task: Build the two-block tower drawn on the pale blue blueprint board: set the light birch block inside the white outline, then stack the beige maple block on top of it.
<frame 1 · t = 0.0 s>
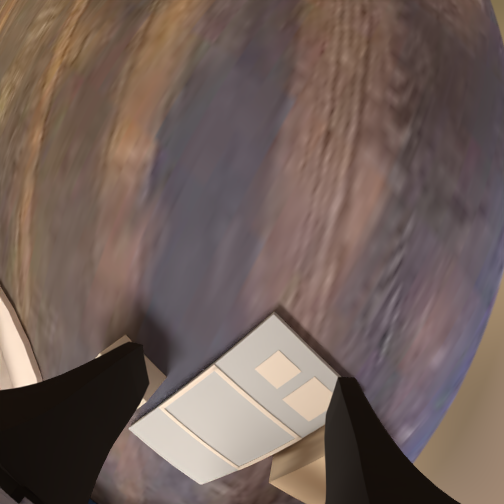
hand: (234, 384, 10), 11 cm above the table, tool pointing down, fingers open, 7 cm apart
beige maple block: (132, 369, 23), on the table
birch block: (325, 458, 22), on the table
blueprint board: (229, 421, 22), on the table
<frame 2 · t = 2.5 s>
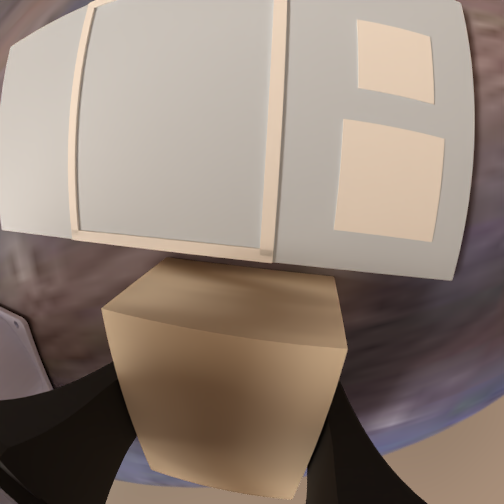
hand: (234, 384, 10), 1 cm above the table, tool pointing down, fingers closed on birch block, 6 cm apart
birch block: (242, 360, 11), on the table, touching gripper
blueprint board: (166, 100, 8), on the table
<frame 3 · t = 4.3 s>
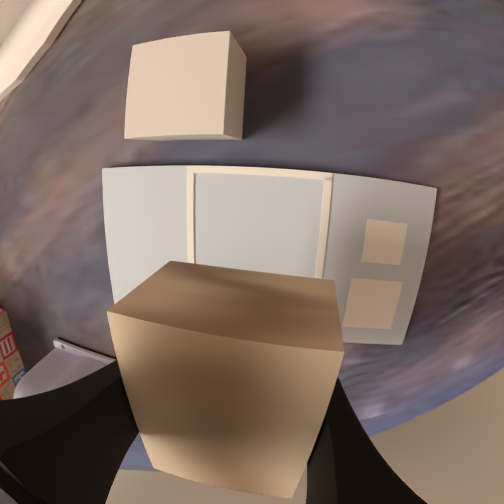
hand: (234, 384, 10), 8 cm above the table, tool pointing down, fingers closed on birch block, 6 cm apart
beige maple block: (201, 98, 15), on the table
birch block: (243, 361, 11), point 7 cm above the table, touching gripper
blueprint board: (255, 254, 17), on the table
white wedge on plate: (24, 2, 14), on the table
stack of blocks: (16, 365, 29), on the table
when the fingers open (3 cm above the table, at t = 6.1 s): birch block stays where it is, resting on blueprint board.
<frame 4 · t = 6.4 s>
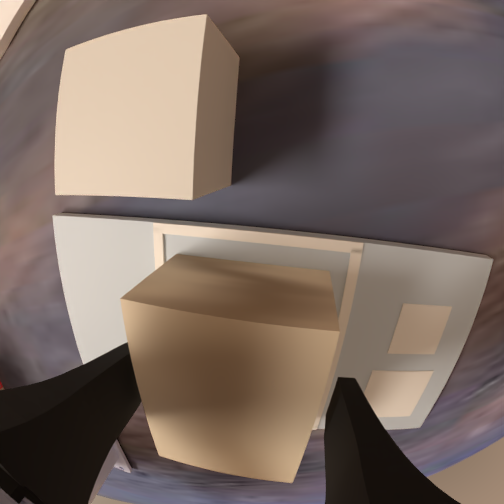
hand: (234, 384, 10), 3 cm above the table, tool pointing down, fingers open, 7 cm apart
beige maple block: (173, 120, 10), on the table
birch block: (245, 350, 12), point 1 cm above the table, touching blueprint board
blueprint board: (249, 339, 13), on the table
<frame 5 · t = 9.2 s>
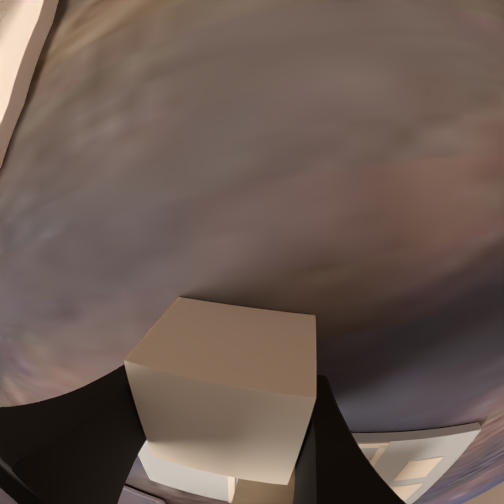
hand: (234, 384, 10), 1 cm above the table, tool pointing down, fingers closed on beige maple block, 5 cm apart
beige maple block: (241, 361, 11), on the table, touching gripper
birch block: (293, 484, 13), point 1 cm above the table, touching blueprint board
blueprint board: (295, 475, 13), on the table
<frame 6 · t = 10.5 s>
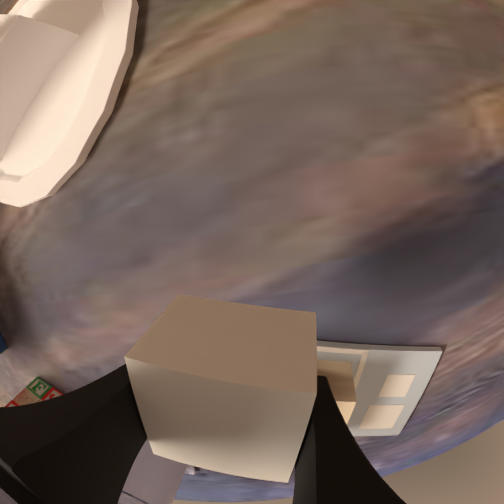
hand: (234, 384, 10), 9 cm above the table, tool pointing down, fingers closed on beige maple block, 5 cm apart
beige maple block: (242, 358, 11), point 8 cm above the table, touching gripper
birch block: (301, 397, 20), point 1 cm above the table, touching blueprint board
blueprint board: (303, 390, 21), on the table
white wedge on plate: (33, 75, 17), on the table
stack of blocks: (67, 425, 33), on the table
when the fingers open (7 cm above the table, at t = 12.2 s): beige maple block stays where it is, resting on birch block.
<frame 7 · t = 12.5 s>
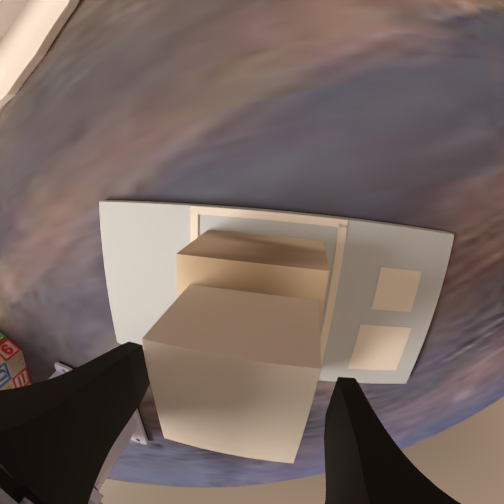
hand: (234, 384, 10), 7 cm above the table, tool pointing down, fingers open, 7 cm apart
beige maple block: (249, 345, 12), point 5 cm above the table, touching birch block
birch block: (259, 306, 16), point 1 cm above the table, touching blueprint board, beige maple block
blueprint board: (262, 299, 16), on the table
white wedge on plate: (17, 7, 13), on the table
stack of blocks: (25, 389, 28), on the table
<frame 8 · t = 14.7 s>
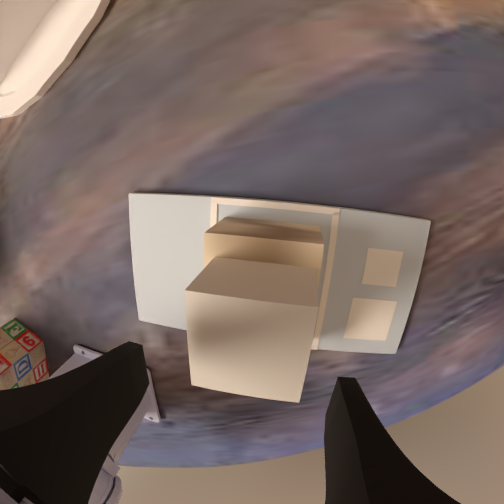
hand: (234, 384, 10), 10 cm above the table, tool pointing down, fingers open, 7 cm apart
beige maple block: (261, 307, 15), point 5 cm above the table, touching birch block
birch block: (267, 282, 19), point 1 cm above the table, touching blueprint board, beige maple block
blueprint board: (269, 276, 19), on the table
white wedge on plate: (37, 13, 16), on the table
stack of blocks: (40, 379, 31), on the table
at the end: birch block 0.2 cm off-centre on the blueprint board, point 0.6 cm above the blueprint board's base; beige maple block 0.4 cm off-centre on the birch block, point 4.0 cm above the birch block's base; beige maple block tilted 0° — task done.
